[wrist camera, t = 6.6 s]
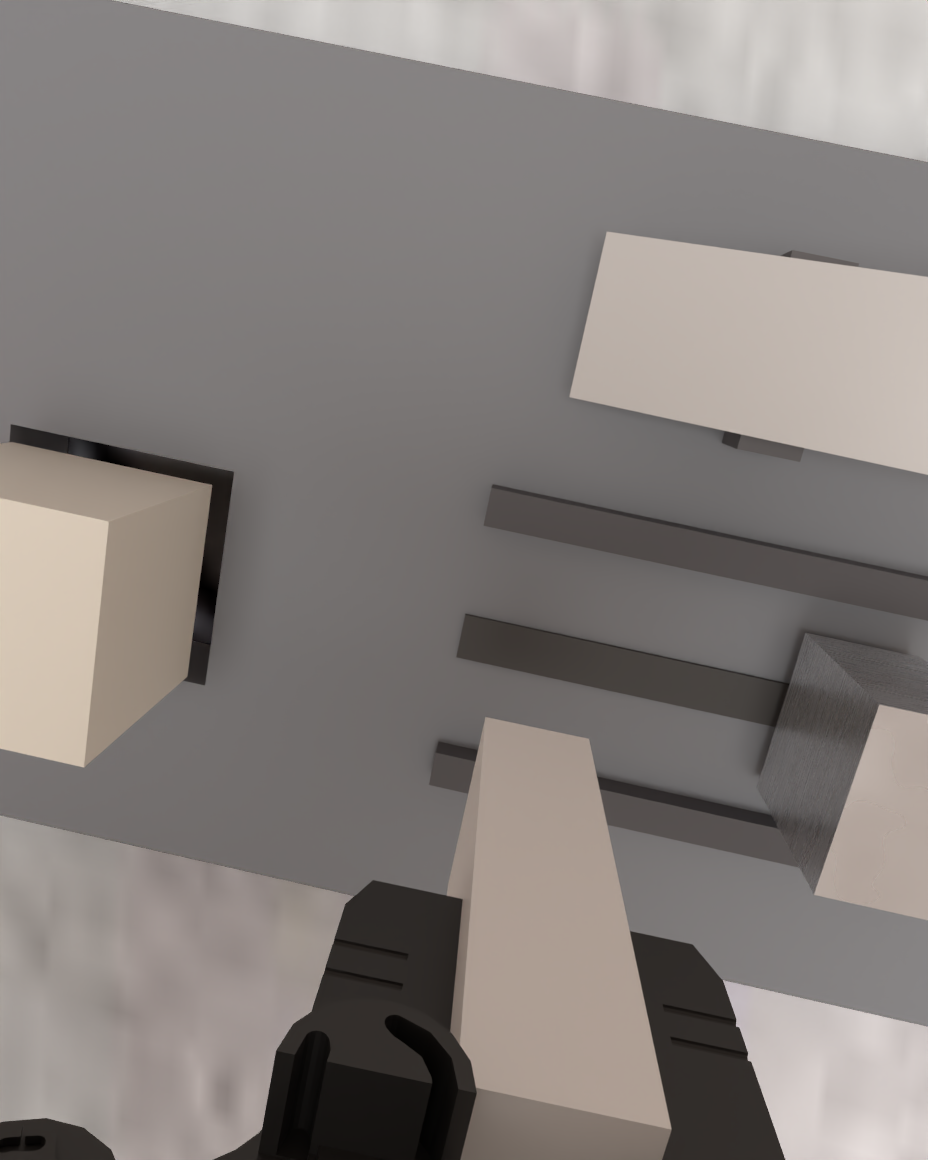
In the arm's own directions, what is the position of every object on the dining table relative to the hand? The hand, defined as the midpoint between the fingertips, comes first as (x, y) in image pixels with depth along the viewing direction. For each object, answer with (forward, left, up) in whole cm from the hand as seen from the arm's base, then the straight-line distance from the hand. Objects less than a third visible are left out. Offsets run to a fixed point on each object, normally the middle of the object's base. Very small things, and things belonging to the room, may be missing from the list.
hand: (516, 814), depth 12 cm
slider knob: (+7, 0, -6) cm, 9 cm away
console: (-3, +2, -9) cm, 10 cm away
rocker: (+4, +7, -5) cm, 9 cm away
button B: (-9, 0, -7) cm, 11 cm away
